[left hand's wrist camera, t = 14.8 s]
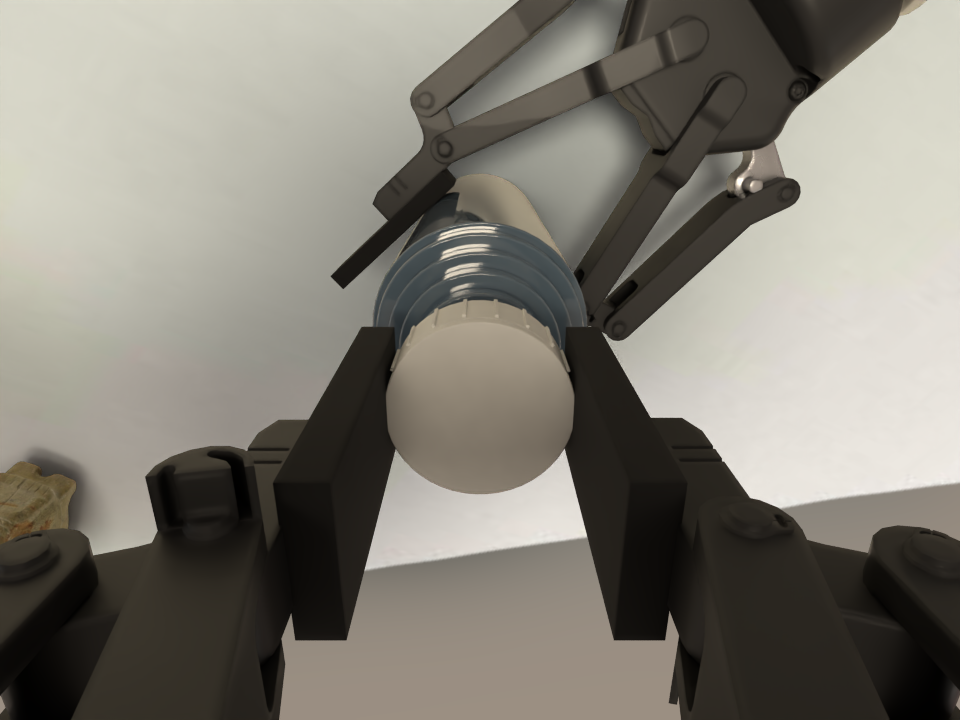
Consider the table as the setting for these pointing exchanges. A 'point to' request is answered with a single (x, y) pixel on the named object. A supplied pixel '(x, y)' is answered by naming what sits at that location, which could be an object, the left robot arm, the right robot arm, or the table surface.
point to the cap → (480, 398)
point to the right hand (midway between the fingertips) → (398, 330)
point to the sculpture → (32, 501)
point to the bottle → (480, 261)
